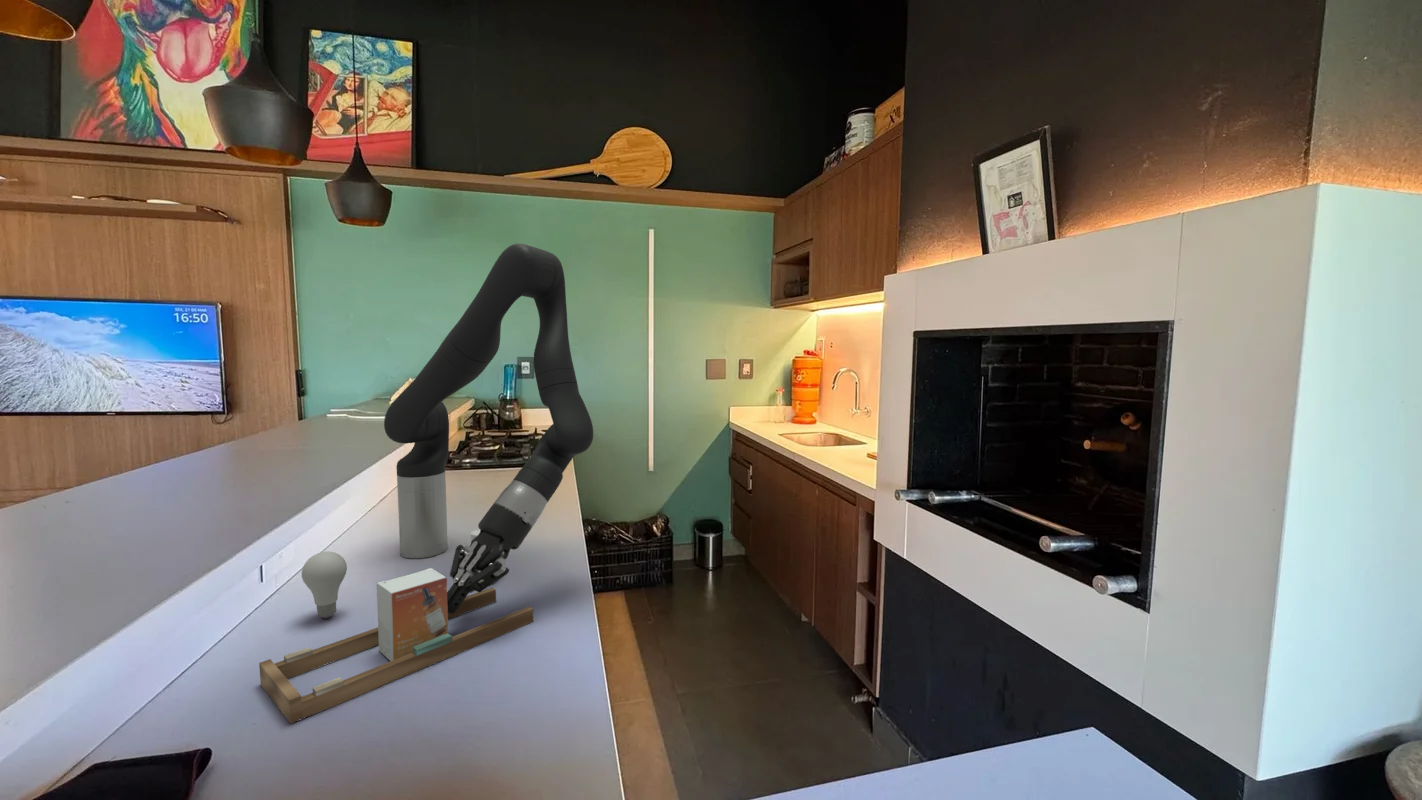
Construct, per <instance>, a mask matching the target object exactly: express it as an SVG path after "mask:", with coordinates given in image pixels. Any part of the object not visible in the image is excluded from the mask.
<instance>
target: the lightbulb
mask: <svg viewBox="0 0 1422 800" xmlns="http://www.w3.org/2000/svg"><path fill="white" fill-rule="evenodd" d="M347 571H348V565H347V562H346V560H345V559H344V557H343V556H342V555H340V554H339V553H336V552H334V551H327V550H326V551H322V552H321V551H320V552H317V553H315V554H314V555H312V556H311V557H309V558H308V559H307V560H306V562H305V563H304V564H303V567H302V569H301V578H302V582H303V583H304V584H305V586H306V587H307V588H308V589H309V591H310V592H311V594H312V596H313V600H314V604H315V605H316V609H317V610H316V611H317V615H318V617H321V618H323V619H328V618H331V616H333V615H335V613H336V612H337V601H338V598H339V590H340V586H341V584H342V582H343V581H344V578H345V577H346V574H347Z"/></svg>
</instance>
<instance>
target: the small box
mask: <svg viewBox="0 0 1422 800" xmlns="http://www.w3.org/2000/svg"><path fill="white" fill-rule="evenodd" d="M447 592H448V579H447V577H446V576H444V575H443V574H442V573H440V572H439V571H436V570H435V569H434V568H432V567H430V568H427V569H426V568H425V569H424V570H420V571H416V572H414V573H411V574H405V575H402V576H399V577H396V578H391V579H387V580H383V581H379V582H376V604H377V605H376V606H377V627H378V635H379V645H378V650H379V652H380V653H382V654H383V656H385V658H387V659H388V660H389V662H390V661H393V660H396V659H398V658H401V657H403V656H406V655H408V654H411V653H413V647H414V646H417V645H419V644H422V643H424V642H427V641H429V640H432V639H435V638H437V637H440V636H442V635H445V634H447V633H448V634H449V619H448V605H447Z"/></svg>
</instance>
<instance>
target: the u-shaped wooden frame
mask: <svg viewBox="0 0 1422 800" xmlns="http://www.w3.org/2000/svg"><path fill="white" fill-rule="evenodd" d="M495 601H496V602H497V589H496V588H494V587H490V588H486V589H484V590H483V591H481V592H475V593H471V594H468V595H467V596H466V598H465V599H464V600H463V602H462V603H461V605H460V606H459V608H458V609H457V610H456V611H455V612H454V613H453V614H451V613H449V612H448V620H450V619H453V618H455V617H458V616H461V615H464V614H465V613H468V612H471V610H472V611H474V610H477V609H480V608H482V607H484V606H487V604H488V605H490V604H493V603H496V602H495ZM492 602H493V603H492ZM489 603H490V604H489ZM479 607H480V608H479ZM476 608H477V609H476ZM532 622H534V608H533V607H531V606H526V607H524V608H522V609H519V610H515V611H514V612H511V613H509V614H507V615H504V616H501V617H499V618H496V619H494V620H492V621H491V620H490V621H489V622H486V623H484V624H481V625H479V626H476V627H474V628H471V629H469V630H467V631H466V630H465V631H463V632H461V633H458V634H456V635H454V636H453V635H451V634H450V633H449V632H448V633H447V634H445V635H442V636H440V637H437V638H435V639H432V640H429V641H427V642H424V643H422V644H419V645H417V646H414V647H413V653H411V654H408V655H406V656H403V657H401V658H398V659H396V660H393V661H390V660H389V662H385V663H383V664H381V665H378V666H376V667H373V668H370V669H368V670H366V671H363V672H360V673H358V674H356V675H353V676H351V677H348V678H346V679H342V677H340V676H339V677H336V678H334V679H331V680H329V681H327V682H324V683H321V684H319V685H315V686H313V687H312V689H311V690H312V692H311V693H308V694H306V695H303V696H302V695H301V694H300V692H299V691H298V690H297V689H296V688H295V687H294V685H293V684H292V683H291V681H289V679H291V678H294V677H297V676H298V675H301V674H304V673H307V671H308V672H310V671H312V669H313V670H315V669H314V668H316V669H318V668H320V667H319V666H321V667H323V666H322V665H324V664H326V665H328V664H327V663H329V664H331V663H330V662H332V663H334V662H336V660H337V661H339V659H340V660H342V658H343V659H344V658H348V657H351V656H352V655H355V654H359V653H361V652H363V651H366V649H367V650H369V649H372V648H374V646H375V647H377V646H379V635H378V626H377V627H375V628H373V629H369V630H366V631H364V632H360V633H357V634H355V635H352V636H348V637H346V638H344V639H339V640H338V641H335V642H333V643H329V644H326V645H324V646H321V647H317V648H315V649H312V647H310V646H308V647H306V648H303V649H299V650H297V651H293V652H291V653H288V654H285V655H284V656H283V660H280V661H277V662H275V663H274V662H273V661H272V659H266V660H264V661H261V662H259V663H258V665H259V679H260V680H259V681H260V686H261V687H262V688H263V690H264V691H265V692H266V694H267V695H268V696H269V697H270V699H271V700H272V701H273V703H274V704H275V705H276V707H277V708H278V709H279V711H280V710H281V711H282V712H281V711H280V712H281V714H282V715H283V714H284V715H285V716H284V715H283V716H284V717H285V718H287V719H288V720H287V719H286V720H287V721H288V723H289V722H290V723H293V722H295V721H297V720H299V719H302V718H304V717H307V716H309V717H311V716H310V715H312V714H314V715H316V714H315V713H317V714H319V713H321V712H323V711H322V710H324V711H325V709H326V710H328V709H330V707H331V708H333V707H335V706H337V705H339V704H342V703H344V702H347V701H349V700H352V699H354V698H356V697H359V696H362V695H363V694H366V693H368V692H371V691H374V690H375V689H378V688H381V687H382V686H384V685H388V684H389V683H391V682H394V681H396V680H398V679H401V678H403V677H406V676H409V675H410V674H411V675H412V674H413V673H415V672H418V671H420V670H422V669H424V668H428V667H429V666H432V665H434V664H437V663H439V662H441V661H444V660H446V659H449V658H450V657H454V656H455V655H458V654H460V653H463V652H465V651H468V650H469V649H472V648H474V647H477V646H478V645H481V644H483V643H486V642H488V641H491V640H493V639H496V638H498V637H500V636H503V635H505V634H507V633H510V632H512V631H514V630H517V629H519V628H522V627H524V626H526V625H528V624H531V623H532ZM371 647H372V648H371ZM358 652H359V653H358ZM350 655H351V656H350ZM347 656H348V657H347ZM333 661H334V662H333ZM324 666H325V665H324ZM317 667H318V668H317ZM309 670H310V671H309ZM320 711H321V712H320ZM318 712H319V713H318ZM312 716H313V715H312ZM307 718H308V717H307ZM302 720H303V719H302ZM290 723H289V724H290ZM295 723H296V722H295ZM293 724H294V723H293Z"/></svg>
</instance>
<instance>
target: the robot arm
mask: <svg viewBox="0 0 1422 800" xmlns="http://www.w3.org/2000/svg"><path fill="white" fill-rule="evenodd" d="M564 272H565V271H564V268H563V265H562V262H561V261H560V259H559V257H558V256H556V254H554V253H553V252H549V251H548V250H545V249H542V248H538V247H536V246H535V247H534V246H532V245H528V244H524V243H514V244H511V245H509V246H508V247H506V248H505V249H504V250H503V251H502V252H501V254H499V256H498V258H497V259H496V261H495V262H494V263H493V266H492V268H491V270H490V271H489V273H488V274H487V276H486V278H485V280H484V281H483V283H482V285H481V287H480V288H479V290H478V292H477V293H476V295H475V297H474V298H473V300H472V301H471V302H470V304H469V305H468V307H467V308H466V310H465V311H464V313H463V315H462V316H461V317H460V319H459V320H458V321H457V323H456V324H455V325H454V326H453V328H452V329H451V330H450V331H449V332H448V334H447V335H446V337H445V338H444V339H443V341H442V342H441V344H440V345H439V347H438V349H436V351H435V353H434V354H433V355H432V357H431V358H430V359H429V360H428V361H427V363H426V364H425V365H424V366H423V367H422V369H421V370H420V372H419V373H418V374H417V376H416V377H415V378H414V379H413V381H411V383H410V384H409V385H408V386H407V387H406V388H404V389H403V391H402V392H401V393H400V394H398V396H397V397H396V398H395V399H394V400H393V402H391V404H390V405H389V407H388V408H387V410H386V412H385V415H384V420H383V421H384V422H383V428H384V431H385V434H386V436H387V438H389V439H390V440H392V441H393V442H395V443H398V444H413V447H412V448H411V449H410V451H409V452H408V453H406V454H405V455H404V456H403V457H401V458H400V459H399V460H397V462H396V483H397V485H396V488H397V505H398V506H397V508H398V528H399V530H398V532H399V552H400V553H399V555H400V556H402V558H403V557H404V558H406V559H407V558H408V559H423V558H430V557H433V556H434V555H435V556H438V555H441V554H442V553H444V552H446V551H447V550H448V548H449V547H448V545H449V544H448V542H449V541H448V515H447V514H448V511H447V509H448V508H447V483H446V482H447V481H446V463H447V461H448V458H449V452H450V451H449V444H450V443H449V442H450V441H449V440H450V436H449V435H450V419H449V418H450V417H449V413H448V409H447V406H446V405H445V404H444V400H446V399H447V398H448V397H449V398H450V396H452V395H453V394H455V393H457V392H458V391H460V390H461V389H463V388H465V387H466V386H468V385H469V384H471V383H472V382H473V381H474V380H476V379H477V378H478V377H479V376H480V375H481V374H482V373H483V372H484V371H485V370H486V368H487V367H488V366H489V364H491V362H492V360H494V358H495V356H496V354H497V353H498V351H499V349H500V344H501V332H502V331H501V330H502V329H501V328H502V327H501V326H502V321H503V319H504V317H505V315H506V314H507V312H508V311H509V310H510V309H511V307H512V305H514V303H515V302H516V301H517V300H519V298H521V297H527V298H530V299H533V300H534V303H535V305H536V308H537V312H538V318H539V327H538V328H539V330H538V335H537V340H536V342H535V343H536V344H535V348H534V352H533V371H534V376H535V381H536V385H537V390H538V394H539V397H540V401H541V404H543V405H544V407H547V408H548V411H549V413H550V416H551V420H552V424H551V425H550V426H549V427H548V428H547V430H546V431H545V432H544V434H543V435H542V437H541V438H540V440H539V441H538V443H537V445H536V446H535V448H534V449H533V452H532V454H531V456H530V457H529V459H528V460H527V461H526V462H525V463H524V465H523V466H522V467H521V468H520V470H519V471H518V472H517V474H516V475H515V477H514V478H513V479H512V480H511V482H510V483H509V484H508V485H506V487H505V488H504V489H503V490H502V491H501V493H500V494H499V496H497V499H496V500H495V501H494V502H493V504H492V505H491V507H490V508H489V509H488V510H487V511H486V514H484V516H483V517H482V518H481V520H480V521H479V523H478V524H477V526H478V529H480V533H479V535H478V536H476V537H475V538H474V539H473V540H472V541H471V542H470V543H471V544H470V543H469V544H470V545H469V544H468V545H465V546H464V545H462V544H459V545H457V546H456V547H455V550H454V556H453V560H452V563H451V567H450V572H449V577H450V578H452V585H451V586H450V587H449V589H448V590H447V605H448V612H449V613H451V614H453V613H454V612H455V611H456V610H457V609H458V608H459V606H460V605H461V603H462V602H463V600H464V599H465V598H466V596H469V594H473V592H476V593H478V592H481V591H483V590H486V589H488V587H490V586H492V585H493V583H494V584H495V583H496V582H497V581H499V580H501V579H502V578H504V577H505V576H506V575H507V574H509V572H510V569H509V567H507V566H506V559H508V557H509V554H510V551H511V550H517V549H519V547H520V546H521V545H522V543H523V542H524V540H525V538H526V537H527V536H528V534H529V533H530V532H531V530H532V528H533V527H534V526H535V524H536V523H537V521H538V519H540V517H541V515H542V514H543V512H544V510H545V507H546V505H547V504H548V503H549V501H550V500H551V498H552V497H553V496H554V494H555V492H556V491H557V489H558V488H559V486H560V485H561V483H562V480H563V478H564V475H563V474H564V472H565V470H566V468H567V467H568V466H569V464H570V462H571V461H572V460H573V459H574V457H575V456H578V455H579V454H582V453H584V452H586V451H587V450H588V449H589V448H590V447H591V445H592V443H593V439H594V425H593V421H592V419H591V416H590V413H589V411H588V409H587V407H586V404H585V402H584V400H583V397H582V396H581V394H580V391H579V385H578V380H577V377H576V376H577V375H576V371H575V367H574V363H573V357H572V353H571V346H570V340H569V339H570V338H569V328H568V327H569V326H568V311H567V310H568V309H567V308H568V307H567V298H566V297H567V295H566V280H565V273H564ZM435 556H434V557H435ZM481 581H483V582H481ZM480 582H481V583H480Z"/></svg>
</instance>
